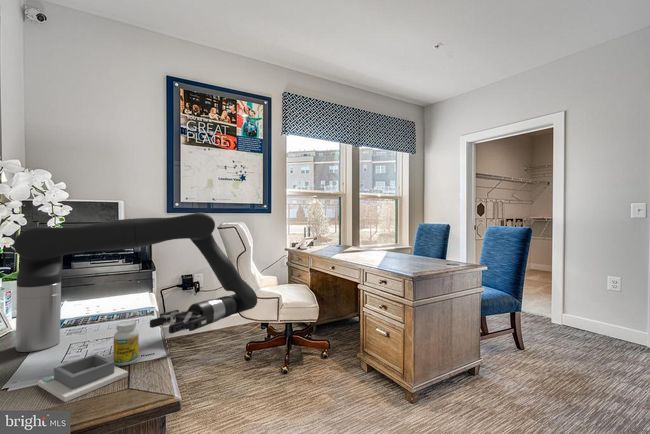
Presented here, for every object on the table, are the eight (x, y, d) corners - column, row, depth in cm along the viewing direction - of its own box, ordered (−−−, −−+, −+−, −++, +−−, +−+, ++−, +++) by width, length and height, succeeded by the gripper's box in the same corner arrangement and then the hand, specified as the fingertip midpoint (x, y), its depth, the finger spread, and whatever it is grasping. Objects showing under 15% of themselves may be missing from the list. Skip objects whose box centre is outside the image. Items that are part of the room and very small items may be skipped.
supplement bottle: (137, 354, 84) (138, 318, 84) (139, 362, 80) (139, 324, 80) (113, 359, 81) (113, 321, 81) (113, 368, 77) (113, 328, 77)
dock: (38, 385, 68) (38, 369, 68) (100, 363, 79) (100, 349, 79) (65, 402, 62) (65, 384, 62) (127, 376, 73) (128, 360, 73)
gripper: (192, 297, 106) (144, 309, 92) (223, 304, 99) (176, 317, 85) (191, 320, 106) (144, 335, 92) (222, 328, 99) (176, 346, 85)
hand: (159, 326), depth 88 cm, fingers open, 8 cm apart
